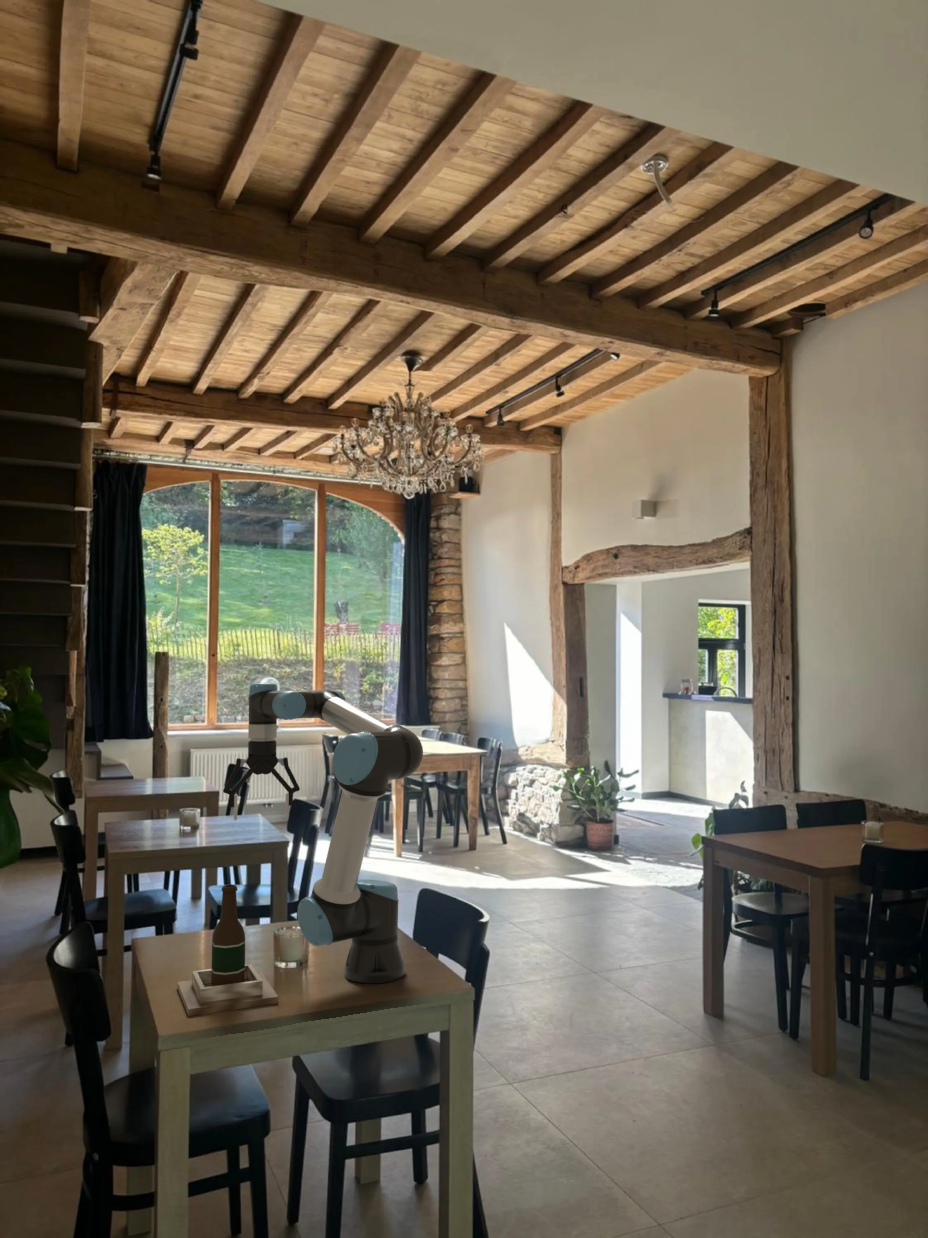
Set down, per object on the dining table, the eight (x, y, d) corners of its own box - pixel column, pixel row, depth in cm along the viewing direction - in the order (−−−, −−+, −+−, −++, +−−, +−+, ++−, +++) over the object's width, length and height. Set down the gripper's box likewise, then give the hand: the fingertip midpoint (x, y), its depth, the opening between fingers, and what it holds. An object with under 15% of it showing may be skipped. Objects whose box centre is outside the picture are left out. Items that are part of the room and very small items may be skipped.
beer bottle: (241, 994, 213) (243, 889, 215) (207, 995, 213) (209, 889, 214) (247, 983, 221) (248, 881, 222) (214, 984, 220) (216, 882, 222)
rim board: (260, 977, 230) (260, 959, 230) (278, 1003, 211) (278, 983, 212) (177, 988, 222) (177, 969, 222) (188, 1016, 203) (188, 995, 204)
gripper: (307, 738, 257) (307, 815, 255) (215, 739, 251) (214, 818, 250) (309, 740, 249) (308, 819, 248) (214, 741, 244) (213, 822, 242)
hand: (261, 818), depth 249 cm, fingers open, 13 cm apart
